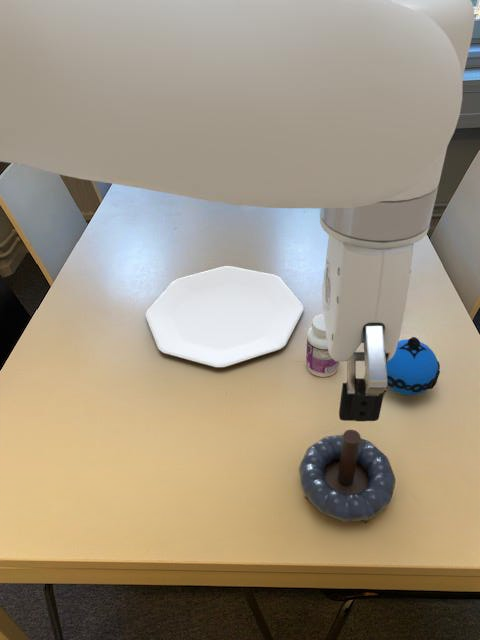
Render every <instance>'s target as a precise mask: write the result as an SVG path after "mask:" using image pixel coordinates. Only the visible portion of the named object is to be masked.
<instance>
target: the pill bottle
mask: <svg viewBox="0 0 480 640" xmlns="http://www.w3.org/2000/svg"><path fill="white" fill-rule="evenodd" d="M305 353H306V354H305V366H306V369H307V370H308V371H309V372H310V373H311V374H312V375H314V376H316V377H320V378H326V377H330V376H333V375H334V374H335V373H336V372H338V370H339V368H340V361H335V360H333V359H332V357H331V356H330V354H329V351H328V345H327V338H326V330H325V321H324V313H320V314H317V315H315V316H314V317H313V318H312V320H311V327H310V328H309V329H308V331H307V334H306V352H305Z"/></svg>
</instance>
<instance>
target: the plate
mask: <svg viewBox="0 0 480 640" xmlns="http://www.w3.org/2000/svg"><path fill="white" fill-rule="evenodd" d="M303 313H304V305H303V304H302V301H300V300H299V299H298V298H297V296H296V294H294V293H293V291H292V290H291V289H290V288H289V286H288V284H286V283H285V281H284V280H283V279H282V278H281V277H280V276H278V275H276V274H272V273H267V272H263V271H258V270H252V269H246V268H242V267H237V266H232V265H224V266H219V267H216V268H212V269H208V270H205V271H201V272H197V273H193V274H190V275H186V276H181V277H179V278H176V279H174V280H173V281H171V282H170V284H169V285H167V287H166V288H165V290H163V291H162V293H160V295H159V296H158V297H157V298H156V299H155V301H154V302H153V303H152V304H151V305H150V306H149V307H148V309H146V311H145V315H144V316H145V319H146V321H147V324H148V327H149V329H150V331H151V334H152V337H153V340H154V342H155V344H156V346H157V347H156V348H157V349H158V351H159V352H161V353H162V354H164V355H167V356H171V357H174V358H178V359H182V360H185V361H189V362H193V363H197V364H201V365H204V366H208V367H211V368H215V369H225V368H227V367H231V366H234V365H237V364H241V363H244V362H247V361H250V360H252V359H253V360H254V359H257V358H259V357H263V356H265V355H268V354H271V353H274V352H275V353H276V352H278V351H281V350H282V349H283V348H284V347H286V346H287V344H288V342H289V340H290V338H291V336H292V334H293V332H294V330H295V328H296V326H297V324H298V322H299V320H300V318H301V317H302V315H303Z"/></svg>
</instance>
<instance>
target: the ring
mask: <svg viewBox="0 0 480 640" xmlns="http://www.w3.org/2000/svg"><path fill="white" fill-rule="evenodd" d="M342 440H343V434H333V435H326V436H324V437H322V438H321V439H319V440H318V441H316V442H314V443H313V444H311V445H310V446H309V447H308V448H307V449H306V451H305V453H304V455H303V458H302V460H301V462H300V464H299V467H298V474H299V479H300V484H301V489H302V493H303V495H304V496H305V495H306V497H307V498H308V499H307V498H306V499H307V500H309V502H311V503H312V505H313V506H314V507H315V508H316V509H317V510H318V511H319V512H320V513H321V514H324V515H325V516H326V515H327V516H329V517H331V518H334V519H337V520H340V521H342V522H348V523H349V522H357V521H359V520H367V519H368V520H371V519H373V518H374V517H375V516H377V515H378V514H379V513H380V512H381V511H383V510H384V509H386V508H387V507H388V506H390V504H391V501H392V499H393V493H394V489H395V487H396V477H395V473H394V470H393V468H392V465H391V463H390V459H389V458H388V457H387V455H386V454H385V453H384V452H383V451H381V450H380V449H379V448H378V447H377V446H375V444H373V443H372V442H371V441H369V440H367V439H364V438H360V444H359V451H358V457H357V462H359V463H360V464H361V465H362V466H363V467H364V468H365V469H366V470H367V472H368V475H369V478H370V480H369V483H368V487H367V488H365V489H364V490H363V491H361V492H360V493H355V494H344V493H341V492H339V491H336V490H333V489H332V487H331V486H330V485H329V484H328V483H327V482H326V481H325V477H324V473H323V472H324V469H325V466H326V464H328V463H329V462H331V461H332V460H334V459H340V456H341V448H342ZM368 520H367V521H368Z"/></svg>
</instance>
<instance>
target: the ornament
mask: <svg viewBox="0 0 480 640" xmlns="http://www.w3.org/2000/svg"><path fill="white" fill-rule="evenodd" d="M386 368H387V380H388V383H387V388H389V389H390V390H391V391H393V392H395V393H397V394H400V395H403V396H417V395H421V394H423V393H425V392H427V391H428V390H429V391H430V390H431V391H432V389H433V388H434V387H435V386H436V384H437V383H438V379H439V376H440V374H441V369H440V368H441V366H440V362H439V360H438V359H437V356H436V354H435V353H434V350H432V349H431V347H429V346H428V345H427V344H425V343H424V342H422V341H420V339H419V338H417V337H415V336H412V337H410V338H409V339H399V341H398V345H397V349H396V352H395V354H394V356H393V357H392V358H391V359H390V360H389V361H388V362H386Z"/></svg>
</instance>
